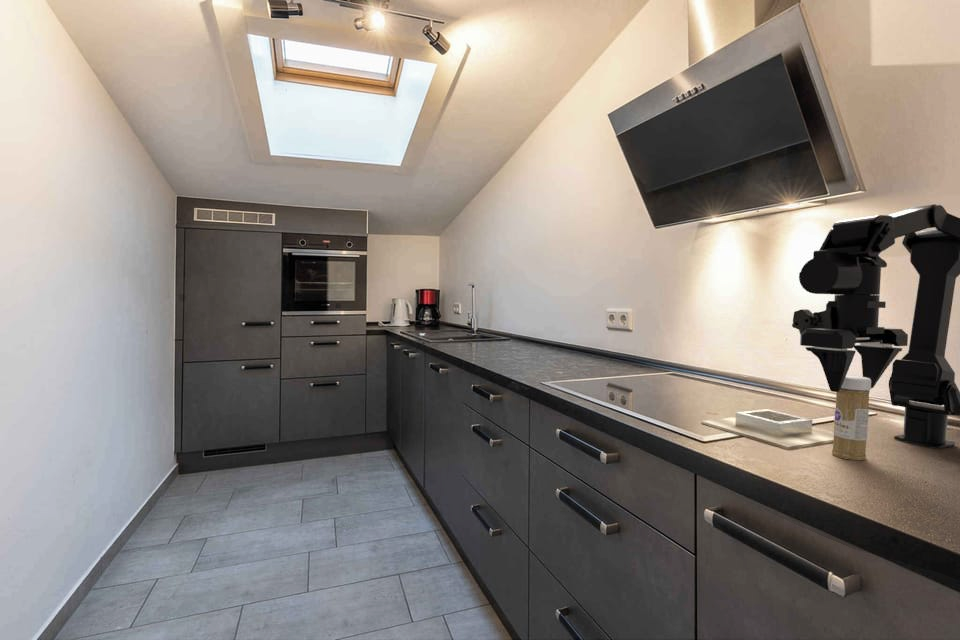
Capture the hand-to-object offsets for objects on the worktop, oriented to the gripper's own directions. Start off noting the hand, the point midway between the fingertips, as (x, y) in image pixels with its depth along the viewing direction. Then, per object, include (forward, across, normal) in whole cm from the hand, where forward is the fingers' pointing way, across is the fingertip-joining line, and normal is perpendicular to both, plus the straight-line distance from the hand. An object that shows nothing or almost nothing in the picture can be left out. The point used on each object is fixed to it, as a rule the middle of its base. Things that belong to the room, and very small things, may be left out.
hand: (851, 389), depth 76 cm
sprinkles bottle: (+11, 0, 0) cm, 11 cm away
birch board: (+11, -3, -15) cm, 19 cm away
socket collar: (+11, -3, -15) cm, 19 cm away
